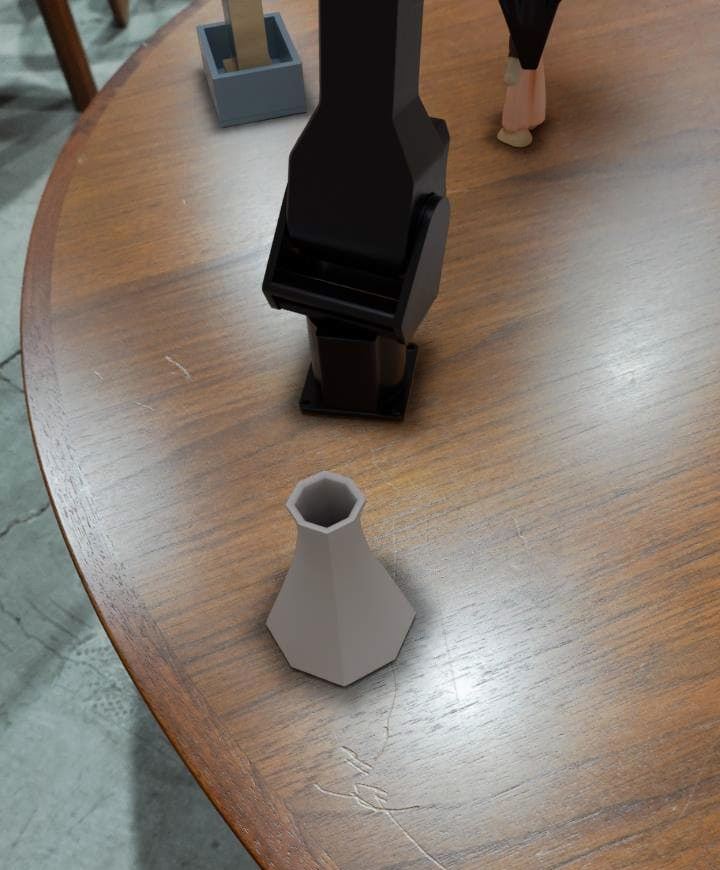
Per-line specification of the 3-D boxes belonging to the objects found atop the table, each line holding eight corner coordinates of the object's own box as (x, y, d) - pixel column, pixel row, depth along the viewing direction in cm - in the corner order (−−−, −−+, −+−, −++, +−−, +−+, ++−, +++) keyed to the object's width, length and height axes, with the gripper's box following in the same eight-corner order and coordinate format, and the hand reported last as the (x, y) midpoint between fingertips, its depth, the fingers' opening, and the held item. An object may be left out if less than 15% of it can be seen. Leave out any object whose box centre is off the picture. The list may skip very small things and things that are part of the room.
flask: (441, 613, 46) (447, 491, 37) (345, 713, 43) (329, 604, 34) (337, 539, 49) (321, 411, 40) (241, 628, 46) (204, 509, 37)
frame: (283, 100, 74) (263, -63, 64) (236, 108, 74) (209, -54, 64) (269, 65, 78) (248, -95, 68) (224, 73, 77) (197, -86, 67)
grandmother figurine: (542, 155, 68) (565, -25, 58) (492, 154, 69) (505, -26, 59) (545, 102, 73) (566, -75, 63) (497, 101, 73) (511, -75, 63)
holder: (306, 112, 74) (302, 63, 71) (221, 127, 73) (212, 79, 70) (284, 59, 79) (279, 11, 76) (204, 73, 78) (195, 25, 75)
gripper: (710, -180, 47) (647, 109, 59) (696, -283, 57) (645, -19, 70) (496, -180, 48) (479, 102, 61) (520, -280, 59) (502, -22, 71)
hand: (533, 36), depth 66 cm, fingers open, 9 cm apart
